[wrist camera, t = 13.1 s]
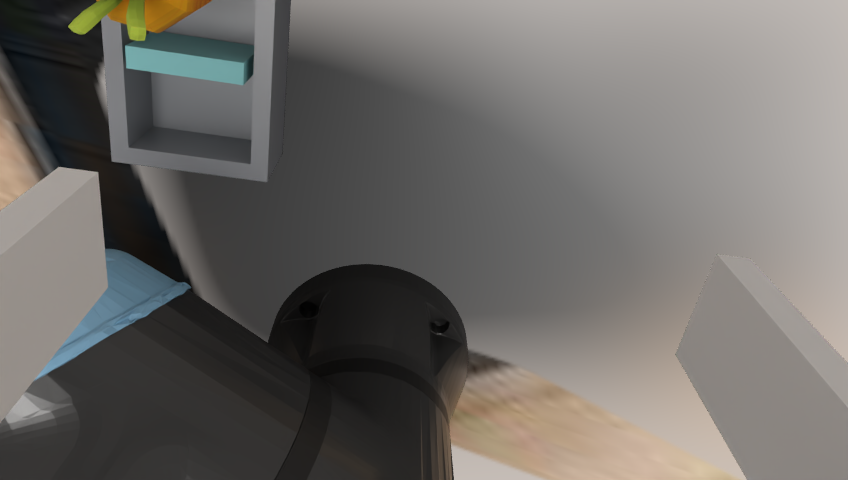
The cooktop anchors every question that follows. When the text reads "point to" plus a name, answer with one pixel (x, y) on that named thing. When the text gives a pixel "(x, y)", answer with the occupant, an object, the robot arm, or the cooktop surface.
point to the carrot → (137, 15)
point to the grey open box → (203, 97)
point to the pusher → (192, 57)
